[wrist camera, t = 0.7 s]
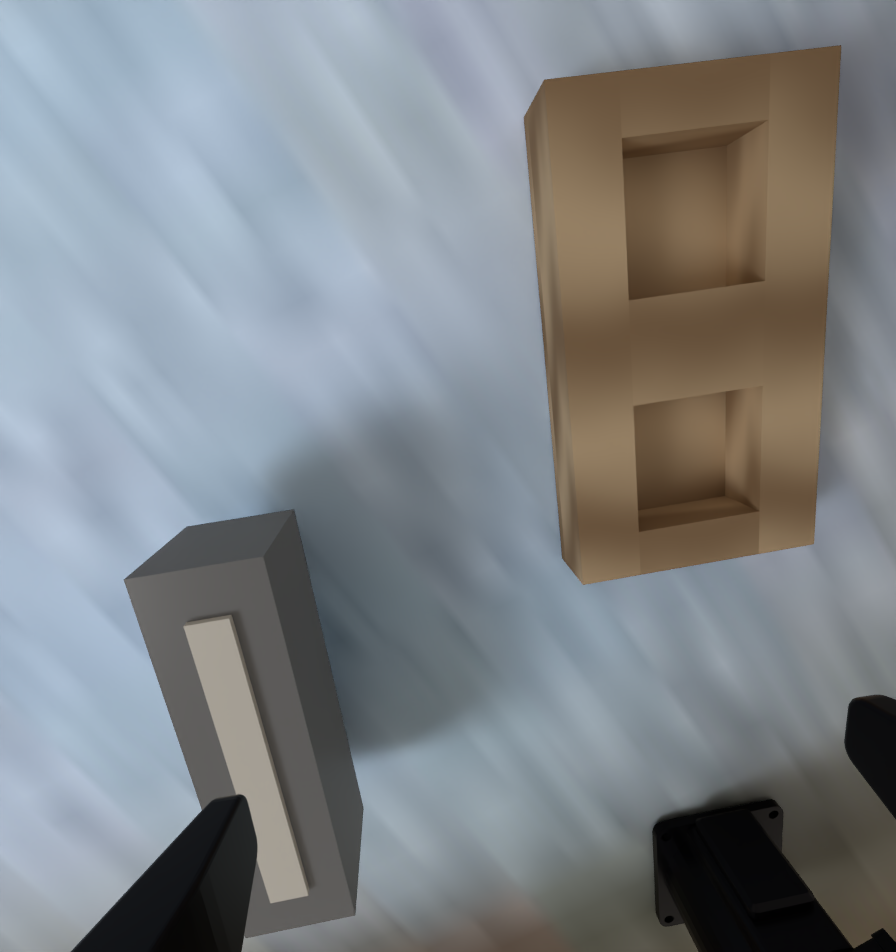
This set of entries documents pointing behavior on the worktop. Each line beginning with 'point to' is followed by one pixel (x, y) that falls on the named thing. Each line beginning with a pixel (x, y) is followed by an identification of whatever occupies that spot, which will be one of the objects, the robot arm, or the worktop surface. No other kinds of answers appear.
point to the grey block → (258, 706)
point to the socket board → (684, 304)
